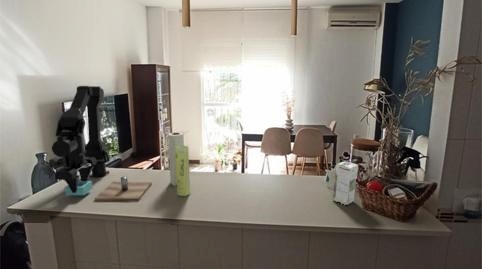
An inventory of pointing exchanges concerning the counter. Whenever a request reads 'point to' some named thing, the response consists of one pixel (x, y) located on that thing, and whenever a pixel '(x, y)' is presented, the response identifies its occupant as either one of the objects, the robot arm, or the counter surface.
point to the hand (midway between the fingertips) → (79, 189)
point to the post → (124, 183)
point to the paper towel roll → (174, 139)
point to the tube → (182, 170)
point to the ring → (80, 188)
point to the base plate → (124, 192)
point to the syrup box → (345, 182)
